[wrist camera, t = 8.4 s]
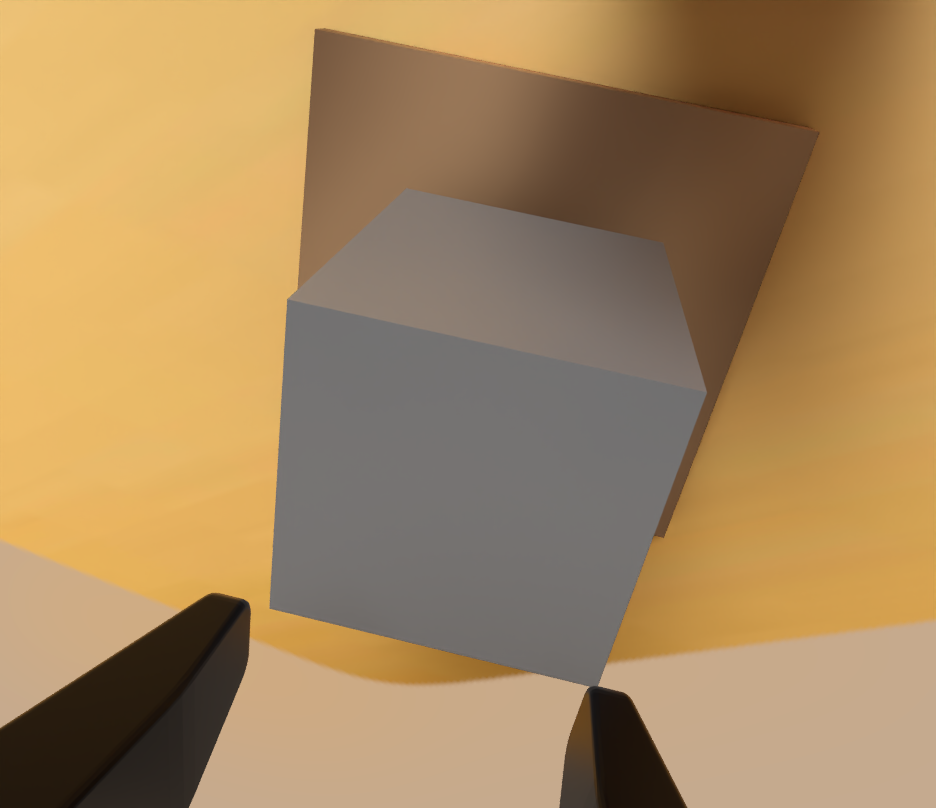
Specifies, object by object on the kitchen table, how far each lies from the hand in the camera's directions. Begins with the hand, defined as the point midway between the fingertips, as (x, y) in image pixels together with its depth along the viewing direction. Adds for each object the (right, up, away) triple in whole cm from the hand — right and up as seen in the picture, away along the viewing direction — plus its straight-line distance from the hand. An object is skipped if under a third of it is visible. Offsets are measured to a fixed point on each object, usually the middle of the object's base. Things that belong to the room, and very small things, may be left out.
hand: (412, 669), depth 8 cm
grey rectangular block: (+1, +4, +8) cm, 9 cm away
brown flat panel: (+2, +5, +10) cm, 11 cm away
